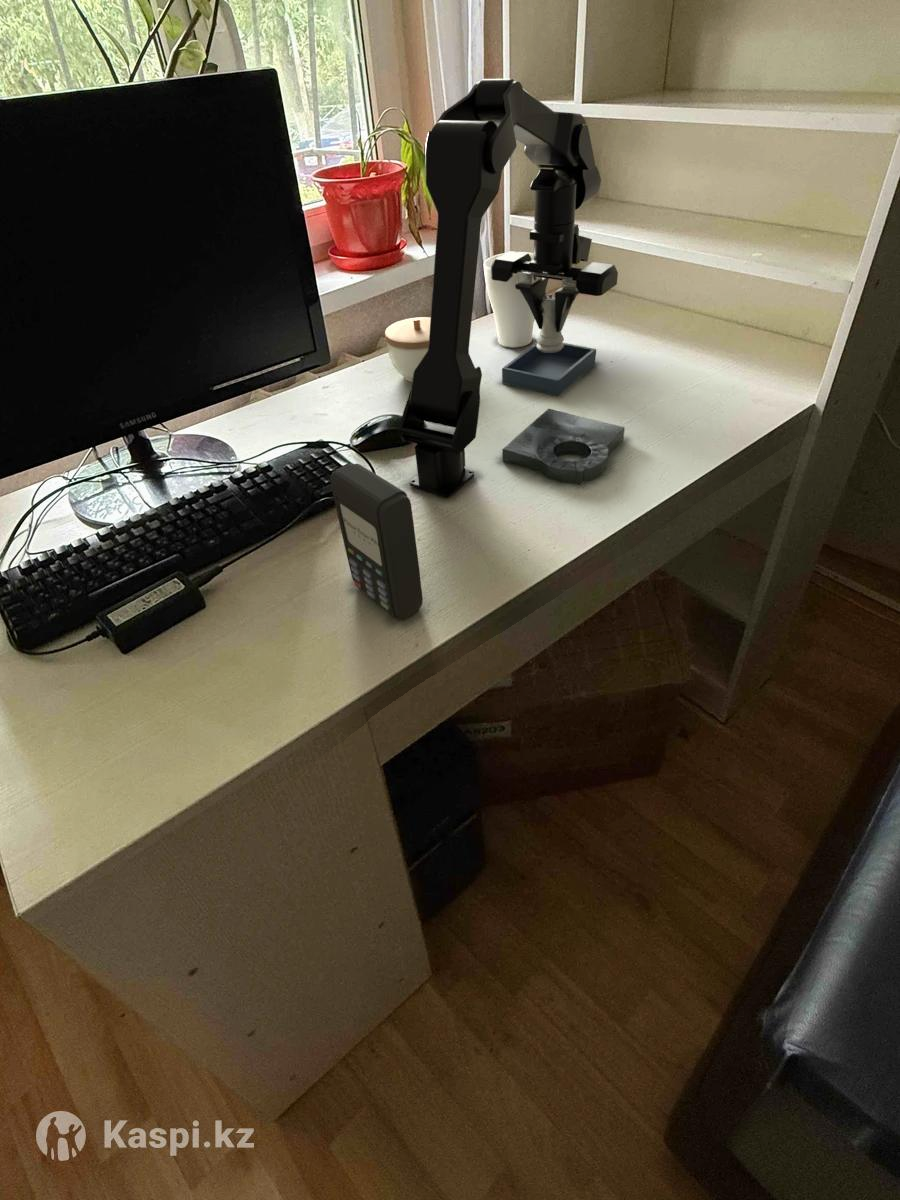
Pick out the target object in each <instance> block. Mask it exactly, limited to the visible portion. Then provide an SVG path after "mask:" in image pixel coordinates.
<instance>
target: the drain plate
mask: <svg viewBox="0 0 900 1200" xmlns="http://www.w3.org/2000/svg"><path fill="white" fill-rule="evenodd" d="M625 429H626V428H625V426H622V425H621V426H620V425H617V424H613V423H608V422H605V421H601V420H597V419H593V418H588V417H585V416H580V415H577V414H573V413H569V412H564V411H561V410H556V409H553V408H547V409H546V410H545V411H543V413H542V414H541V415H539V416H538V417H537V418H536V419H535V420H533V422H531V423H529V425H528V426H527V427H525V429H523V430H522V431H521V432H520V433H519V434H518V435H517V436H516V437H514V438H513V439H512V440H510V442H509V443H507V444H506V445H505V446H504V447H502V449H501V450H502V451H501V452H502V454H501V455H502V462H503V463H506V464H510V465H514V466H517V467H520V468H523V469H527V470H530V471H533V472H536V473H539V474H541V475H542V476H544V477H545V478H546V479H548V480H551V481H555V482H559V483H567V484H577V485H581V486H582V485H583V483H586V482H591V481H593V480H595V479H597V478H599V477H601V476H602V475H603V474H604V473H605V472H606V471H607V469H608V460H609V456H610V455H611V454H612V453H613V452H614V450H615V449H616V448H618V446H620V444H621V443H622V442H623V441H624V437H625ZM569 454H570V455H572V454H573V455H578V456H582V457H584V458H583V459H579V460H566V459H562V458H559V457H561V456H564V455H569Z"/></svg>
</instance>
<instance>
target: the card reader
mask: <svg viewBox="0 0 900 1200" xmlns="http://www.w3.org/2000/svg"><path fill="white" fill-rule="evenodd" d="M330 487H331V492H332V496H333V500H334V505H335V509H336V514H337V518H338V523H339V527H340V531H341V537H342V541H343V547H344V550H345V554H346V558H347V562H348V566H349V570H350V575H351V579H352V581H353V583H354V585H355V586H356V587H357V588H358V589H359V590H361V591H362V592H363V593H364V594H365V595H367V596H368V597H369V598H370V599H372V600H373V601H374V602H375V603H377V604H378V605H379V606H381V608H383V609H384V610H386V611H387V613H390V615H392V616H393V617H395V618H399V619H402V620H405V619H407V618H409V617H410V616H412V615H414V614H415V613H417V612H418V611H420V609H421V607H422V605H423V591H422V581H421V571H420V563H419V555H418V548H417V540H416V533H415V532H416V531H415V525H414V524H415V523H414V516H413V509H412V502H411V500H410V498H409V497H408V494H407V493H406V492H405V490H403V489H400V488H399V487H398V486H396V485H394V484H393V483H391V482H390V481H388V480H386V479H385V478H383V477H382V476H379V475H378V474H377V473H375V472H373V471H372V470H370V469H368V468H367V467H365V466H363V465H362V464H360V463H352V462H350V463H347V464H344V465H342V466H341V467H338V468H336V469H334V470H333V471H332V473H331V475H330Z"/></svg>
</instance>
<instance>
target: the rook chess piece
mask: <svg viewBox="0 0 900 1200" xmlns="http://www.w3.org/2000/svg"><path fill="white" fill-rule="evenodd" d="M541 305H542V307H543V308H544V311H543V313H542V315H543V324H542V329H540V331H539V335H537V338H536V343H537V342H538V344H537V345H536V346H537V348H538V350H539V351H541V352H544V353H555V352H558V351H560V350H561V349H562V348H563V346H564V343H565V342H564V341H565V337H564V335H563V334H562V331H560V332H557V331H556V324H555V296H553V293H549V294H546V295H545V296H544V297H543V301H542V302H541Z"/></svg>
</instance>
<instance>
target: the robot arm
mask: <svg viewBox="0 0 900 1200" xmlns="http://www.w3.org/2000/svg"><path fill="white" fill-rule="evenodd" d="M591 139H592V138H591V133H590V130H589V126H588V125H587V122H586V120H585V117H584V116H583V114H581V113H574V112H565V111H564V112H563V111H554V110H553V109H551V108H550V107H549V106H547V105H546V104H545V103H543V102H542V101H541V100H539V99H538V98H537V97H535V96H534V95H532V94H531V93H529V92H528V91H527V90H525V88H523V85H522V83H521V82H520V81H516V79H515V78H482V79H480V80H479V81H476V83H474V84H473V86H472V88H471V89H470V91H469V92H468V93H467V94H466V95H465V96H464V97H462V98H461V99H459V100H458V101H457V102H455V103H453V105H451V106H450V107H448V108H447V109H446V110H444V111H443V112H442V113H441V115H440V116H439V118H438V119H437V121H436V123H435V124H434V126H433V127H432V128H431V130H429V131H428V132H427V136H426V139H425V142H424V149H423V151H424V152H423V154H424V161H425V164H424V165H425V185H426V189H427V191H428V193H429V195H430V197H431V201H432V203H433V205H434V207H435V210H436V212H437V223H436V237H435V252H434V265H433V266H434V267H433V278H432V279H433V280H432V293H431V306H430V307H431V308H430V318H431V319H430V333H429V346H428V351H427V352H426V354H425V355H424V357H423V358H422V360H421V361H420V363H419V364H418V366H417V367H416V369H415V370H414V374H413V381H412V382H411V388H410V390H409V393H408V397H407V399H406V403H405V405H404V409H403V412H402V416H401V419H400V421H399V424H398V428H397V432H398V435H399V437H400V439H401V441H402V442H405V443H406V442H409V443H413V444H416V445H415V446H414V453H415V454H414V455H415V462H416V471H417V474H416V475H415V476H414V477H413V478H412V479H410V480H409V485H410V487H414V488H416V489H420V490H422V491H425V492H428V493H430V494H434V495H437V496H440V497H442V498H446V499H448V498H451V497H452V496H453V495H454V494H456V492H457V491H459V490H460V489H461V488H463V486H465V485H466V484H467V483H468V482H469V481H470V480H471V479H473V478H474V477H475V471H474V470H471V469H469V468H466V455H465V453H466V452H465V449H466V448H467V447H468V446H469V445H470V444H471V443H472V442H473V441H474V440H475V439H476V438H477V429H478V421H479V415H480V413H479V412H480V406H481V405H480V404H481V394H480V393H481V392H480V391H481V382H482V377H483V372H482V368H481V367H480V366H478V365H475V364H474V362H473V359H472V358H471V356H470V340H471V332H472V331H471V330H472V320H473V310H474V309H473V308H474V300H475V299H474V298H475V289H476V279H477V270H478V269H477V268H478V260H479V259H478V258H479V248H480V239H481V226H482V220H483V217H484V216H485V214H486V212H487V211H488V210H489V208H490V206H491V204H492V203H493V201H494V200H495V199H496V197H497V195H498V193H499V191H500V185H501V179H502V175H503V170H504V168H505V167H506V165H507V164H508V162H509V160H510V159H511V158H512V156H513V154H514V151H516V149H517V141H518V142H520V143H521V144H523V145H524V150H523V151H524V152H523V153H524V155H525V156H526V157H527V158H528V159H529V161H530V162H531V163H532V164H533V165H536V167H537V168H538V169H539V171H538V173H537V175H536V176H535V178H533V180H532V182H531V183H530V191H532V192H533V191H534V219H533V220H534V223H533V227H534V228H533V229H532V230H531V231H529V241H530V240H532V241H533V253H534V260H533V261H531V257H530V255H529V254H528V253H521V252H522V251H514V250H513V251H512V250H509V251H507V252H504V253H505V254H503V253H502V254H503V255H502V256H500V257H498V258H496V259H495V260H494V261H493V263H492V266H491V279H492V280H497V281H504V282H507V281H509V280H510V278H511V277H512V276H513V273H514V274H518V283H517V284H516V285H515V288H516V289H519V290H520V291H521V293H522V295H523V296H524V298H525V300H526V302H527V303H528V305H529V307H530V309H531V312H532V314H533V316H534V318H535V320H534V321H535V323H536V325H537V327H538V329H539V330H542V324H543V315H542V313H543V311H544V308H543V307H542V305H541V302H542V301H543V297H544V296H545V295H547V294H546V291H547V286H548V283H549V280H556V281H562V287H560V288H559V289H558V290H556V291H554V297H555V324H556V331H557V332H560V331H561V332H562V331H563V328H564V326H565V323H566V320H567V319H568V316H569V314H570V310H571V308H572V305H573V304H574V302H575V300H576V298H577V296H578V295H579V294H580V295H587V296H593V297H600V296H603V295H604V294H605V293H607V292H608V291H610V290H611V289H613V288H614V287H615V286H617V284H618V278H619V277H618V275H619V272H618V270H617V267H616V265H615V264H612V263H604V262H596V261H592V262H591V263H589V264H588V265H586V266H584V267H583V268H579V267H573V265H578V264H579V263H581V262H584V263H585V262H586V263H587V262H588V261H589V257H590V251H591V246H592V242H593V241H592V240H593V239H592V238H590V237H586V236H584V235H583V236H582V235H580V228H579V224H576V222H575V220H576V210H578V209H580V208H581V207H583V206H584V205H586V204H587V203H589V202H590V201H592V200H593V199H594V198H596V196H597V194H598V193H599V192H600V188H601V185H602V177H601V175H600V171H599V169H598V167H597V166H596V160H595V156H594V149H593V146H592V145H593V144H592V140H591Z"/></svg>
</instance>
